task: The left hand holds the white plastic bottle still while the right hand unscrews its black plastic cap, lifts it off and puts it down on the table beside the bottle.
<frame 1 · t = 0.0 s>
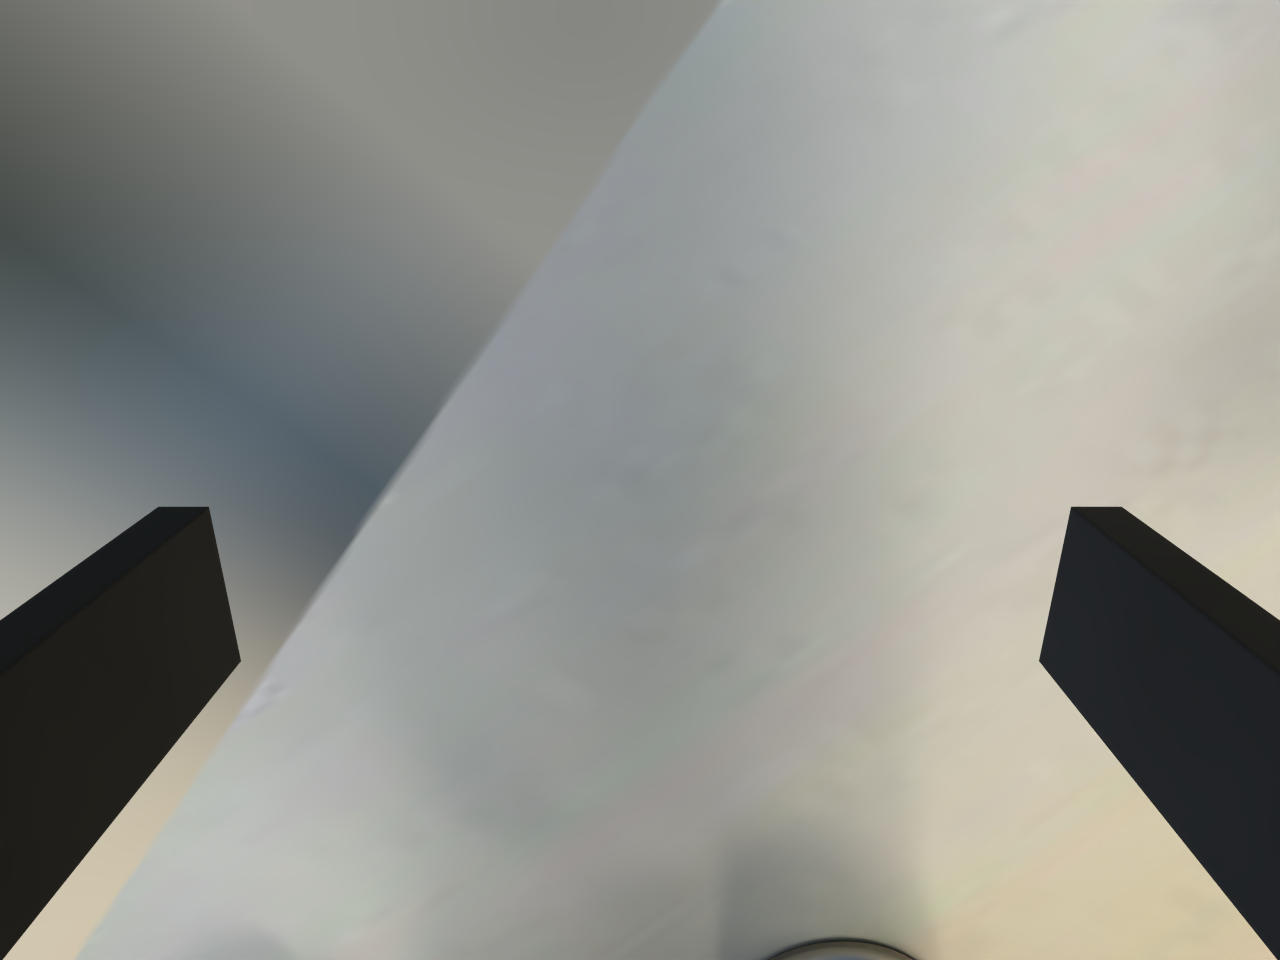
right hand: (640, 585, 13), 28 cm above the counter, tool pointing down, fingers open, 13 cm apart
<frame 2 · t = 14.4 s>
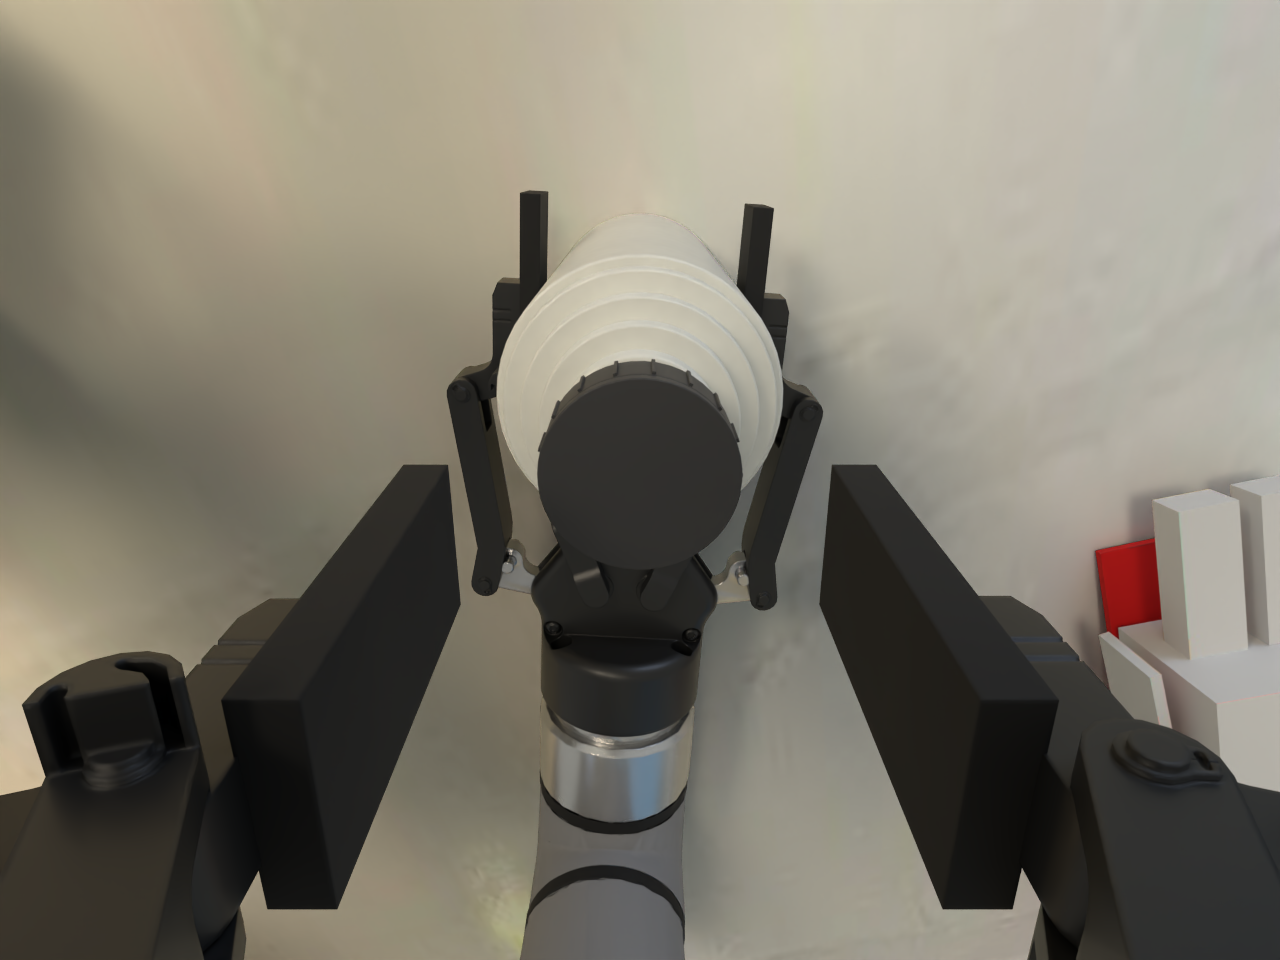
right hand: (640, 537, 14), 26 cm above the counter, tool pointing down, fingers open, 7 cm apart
left hand: (646, 199, 31), fingers closed on bottle, 8 cm apart
bottle: (639, 299, 39), on the counter, touching left hand
toy: (1174, 700, 47), on the counter
cap: (639, 473, 17), point 23 cm above the counter, screwed on, not yet turned
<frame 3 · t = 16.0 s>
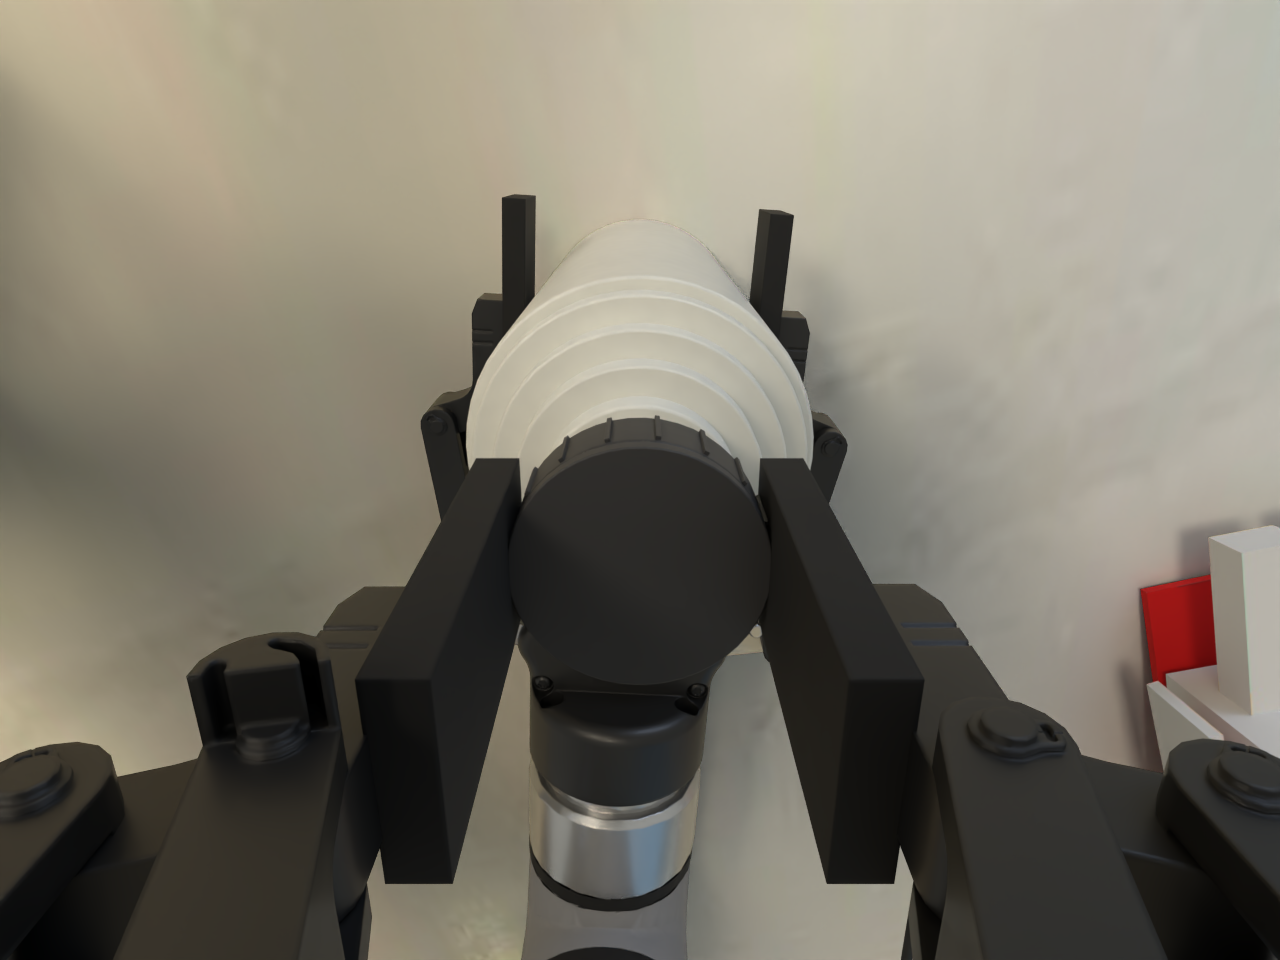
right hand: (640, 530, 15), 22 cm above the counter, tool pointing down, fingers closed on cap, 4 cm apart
bottle: (639, 315, 35), on the counter, touching left hand
toy: (1222, 749, 43), on the counter
cap: (639, 564, 13), point 23 cm above the counter, screwed on, not yet turned, touching right hand
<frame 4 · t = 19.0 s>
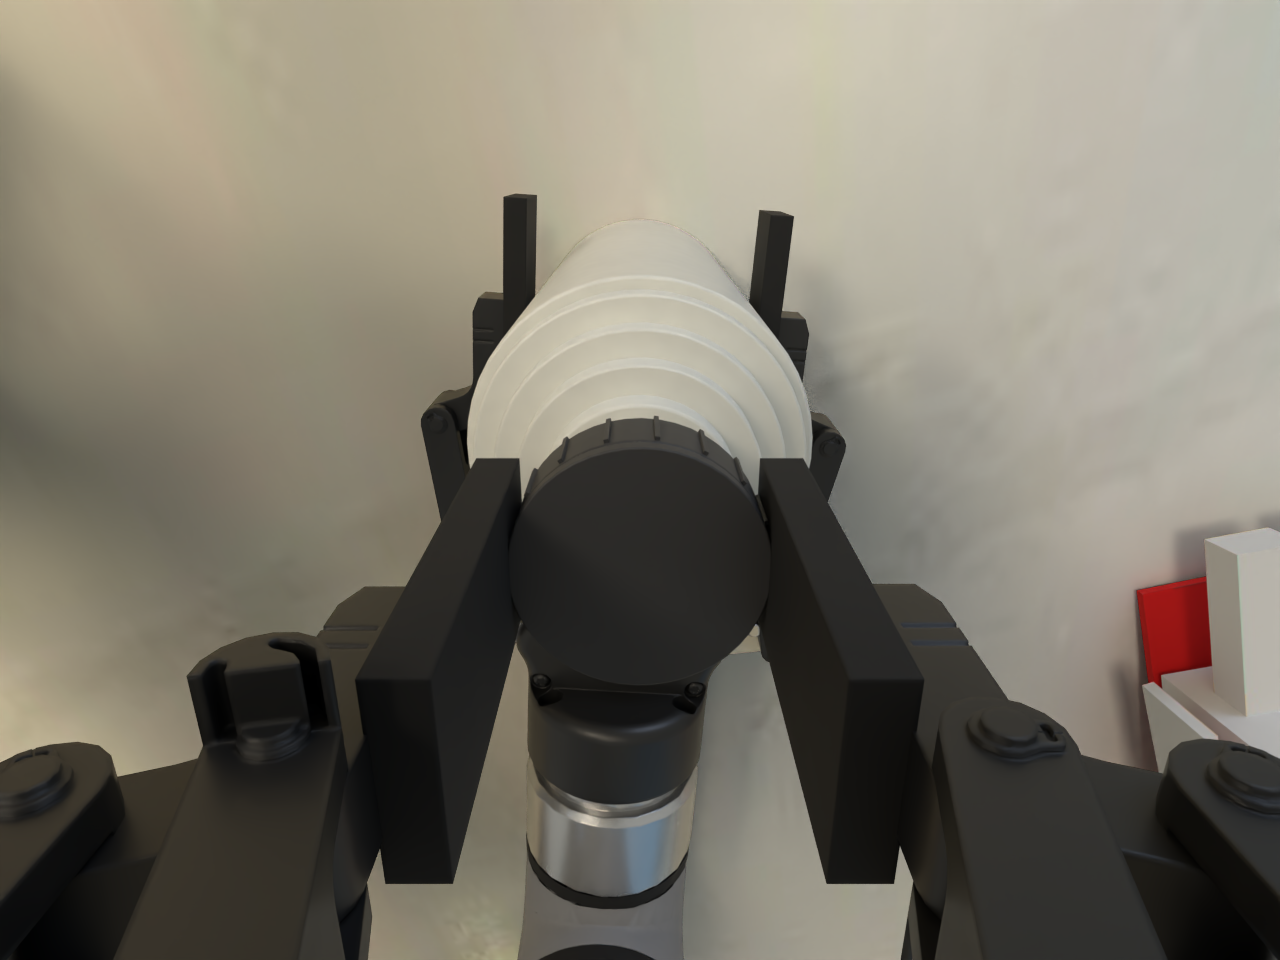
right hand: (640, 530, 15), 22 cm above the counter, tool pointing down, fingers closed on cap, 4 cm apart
bottle: (639, 314, 35), on the counter, touching left hand
toy: (1217, 750, 44), on the counter
cap: (639, 565, 13), point 23 cm above the counter, turned 107° so far, risen 0.1 cm, still on its thread, touching right hand
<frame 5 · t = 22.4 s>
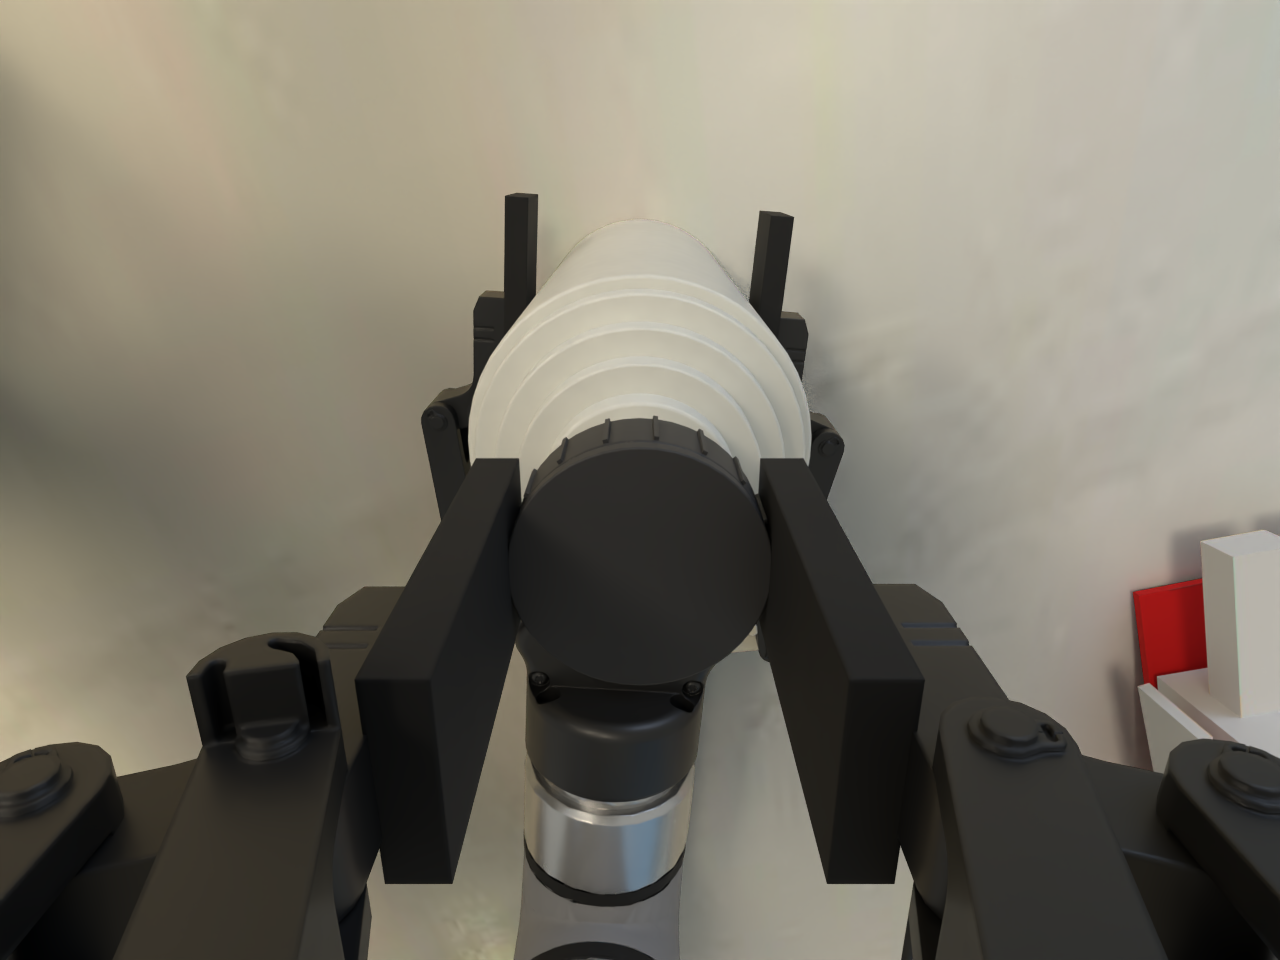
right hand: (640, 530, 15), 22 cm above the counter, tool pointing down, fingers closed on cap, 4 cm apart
bottle: (639, 314, 35), on the counter, touching left hand
toy: (1212, 751, 44), on the counter
cap: (639, 565, 13), point 24 cm above the counter, turned 213° so far, risen 0.2 cm, still on its thread, touching right hand
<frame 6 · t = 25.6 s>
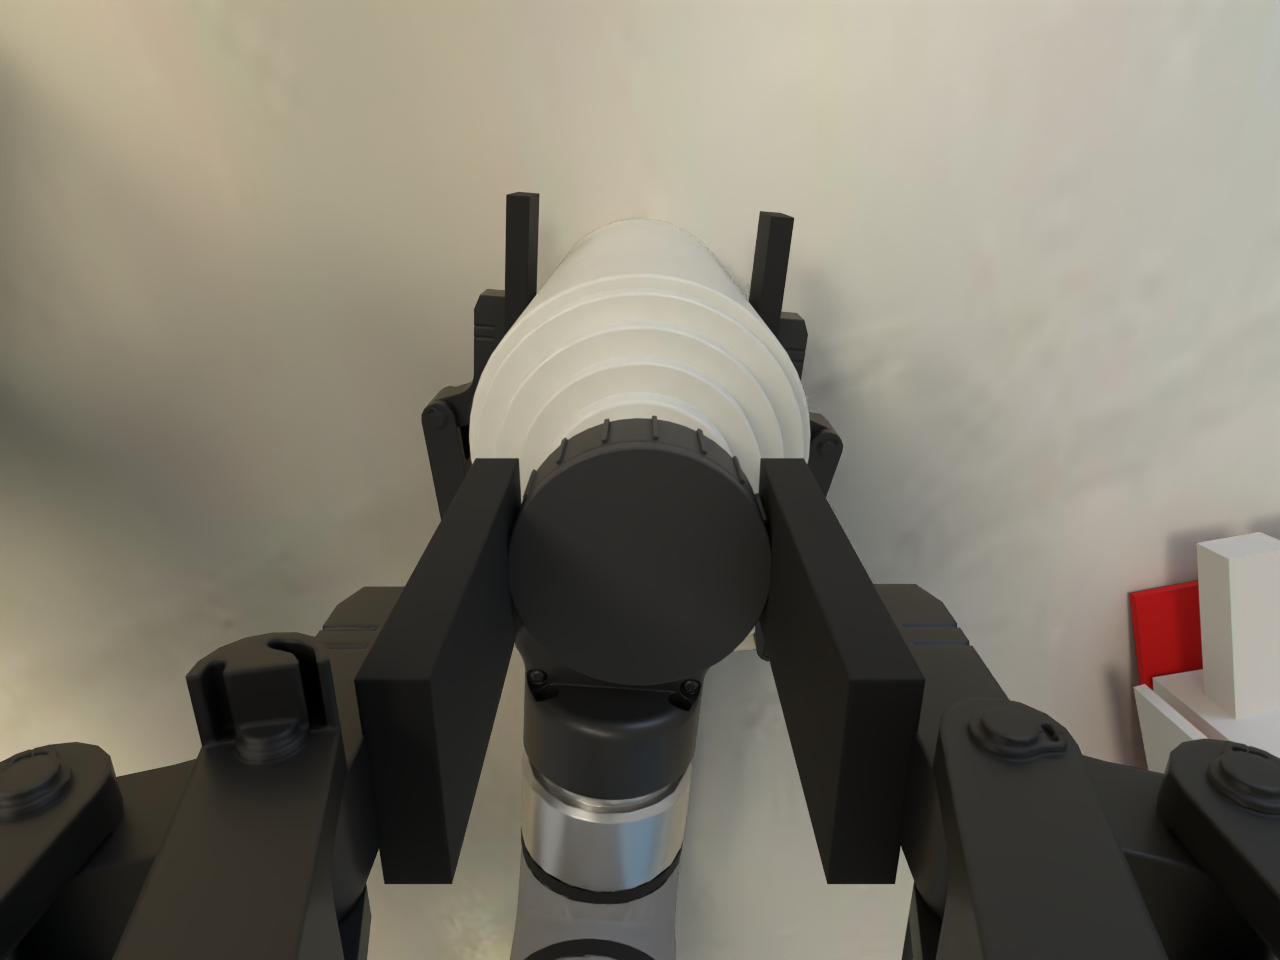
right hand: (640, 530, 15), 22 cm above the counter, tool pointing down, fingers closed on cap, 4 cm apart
bottle: (639, 313, 35), on the counter, touching left hand
toy: (1207, 752, 44), on the counter
cap: (639, 565, 13), point 24 cm above the counter, turned 320° so far, risen 0.3 cm, still on its thread, touching right hand
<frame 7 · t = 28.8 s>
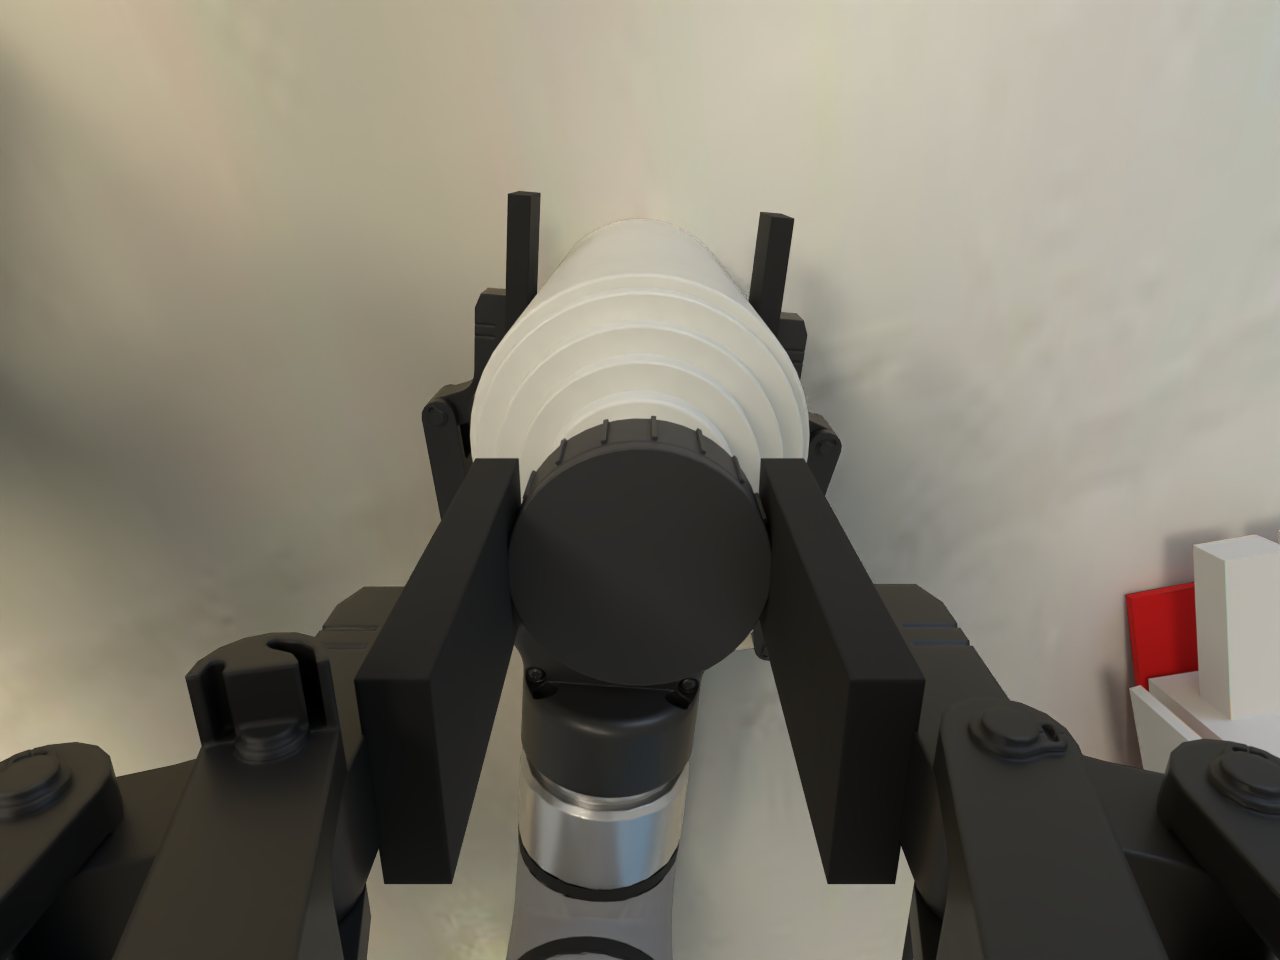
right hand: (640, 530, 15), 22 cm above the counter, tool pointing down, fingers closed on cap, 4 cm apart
bottle: (639, 313, 36), on the counter, touching left hand
toy: (1202, 754, 44), on the counter
cap: (639, 565, 13), point 24 cm above the counter, turned 426° so far, risen 0.5 cm, still on its thread, touching right hand
when the right hand's fingers open (1 cm above the counter, at t = 35.8 s): cap drops 1 cm, point 1 cm above the counter.
when the left hand's fingers open (6 cm above the counter, at t = 37.1 s): bottle stays where it is, on the counter.
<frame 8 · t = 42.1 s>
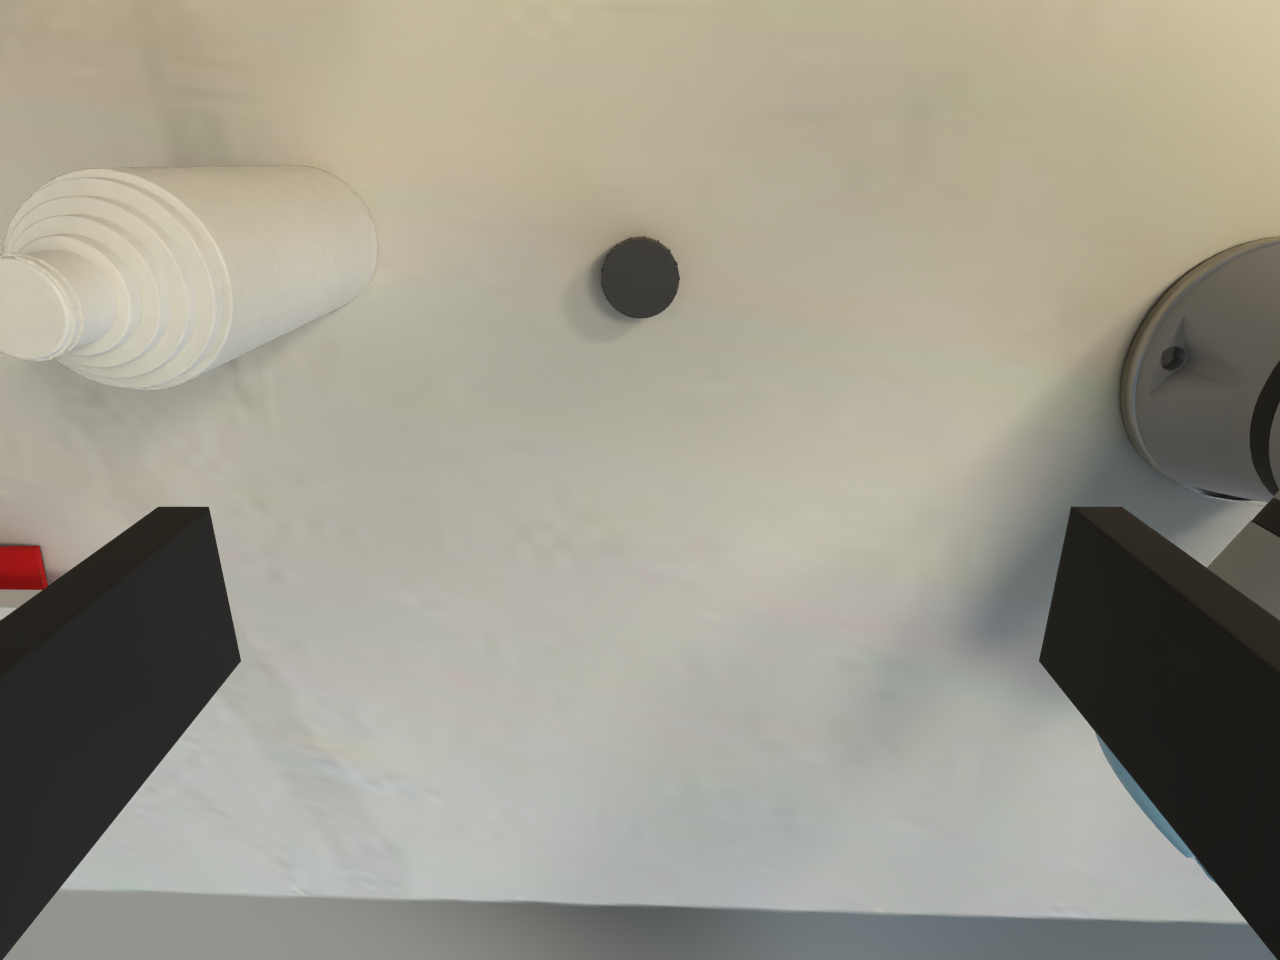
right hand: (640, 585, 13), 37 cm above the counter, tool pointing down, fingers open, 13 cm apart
bottle: (307, 240, 46), on the counter
cap: (640, 278, 46), point 1 cm above the counter, off its thread
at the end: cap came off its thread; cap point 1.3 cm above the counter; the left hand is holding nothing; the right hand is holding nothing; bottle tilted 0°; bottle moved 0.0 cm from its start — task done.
